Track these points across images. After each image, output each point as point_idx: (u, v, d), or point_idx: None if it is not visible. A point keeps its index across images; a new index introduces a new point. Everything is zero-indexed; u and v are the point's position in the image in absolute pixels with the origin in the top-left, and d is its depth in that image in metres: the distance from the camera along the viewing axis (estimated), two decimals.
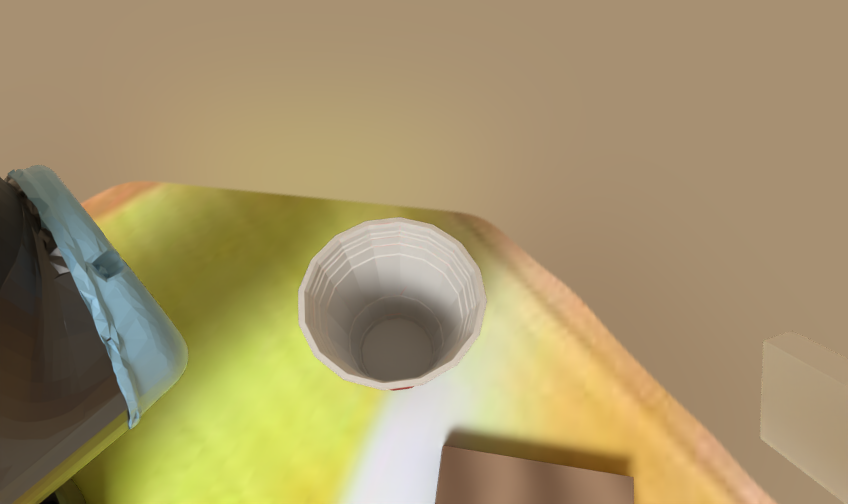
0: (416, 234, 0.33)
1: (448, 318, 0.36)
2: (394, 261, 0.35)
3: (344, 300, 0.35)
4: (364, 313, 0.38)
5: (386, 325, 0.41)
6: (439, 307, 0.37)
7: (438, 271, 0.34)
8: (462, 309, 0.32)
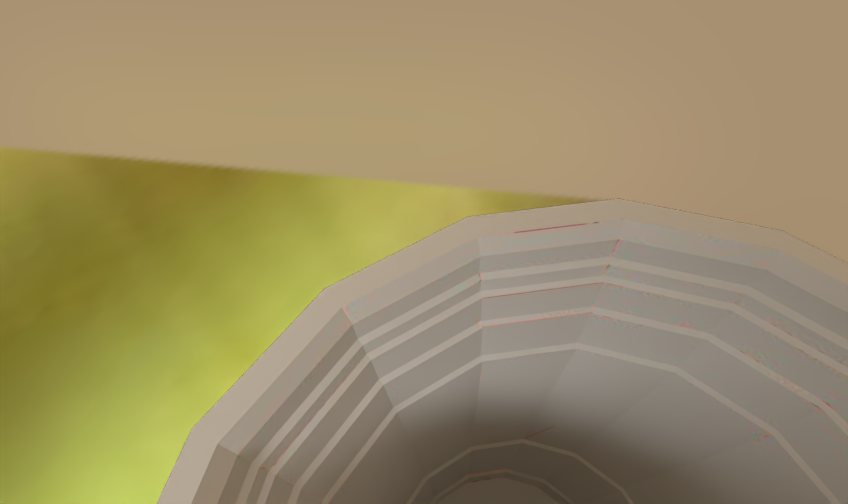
0: (690, 275, 0.07)
1: None
2: (546, 368, 0.09)
3: None
4: (418, 498, 0.13)
5: (469, 499, 0.15)
6: (674, 503, 0.11)
7: (739, 417, 0.09)
8: None
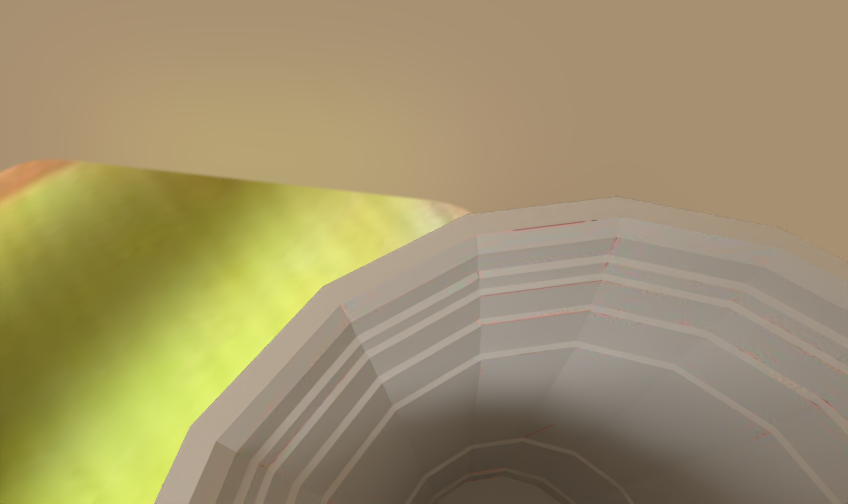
0: (688, 273, 0.07)
1: None
2: (546, 366, 0.09)
3: None
4: (418, 496, 0.13)
5: (469, 498, 0.15)
6: (673, 502, 0.11)
7: (738, 415, 0.09)
8: None
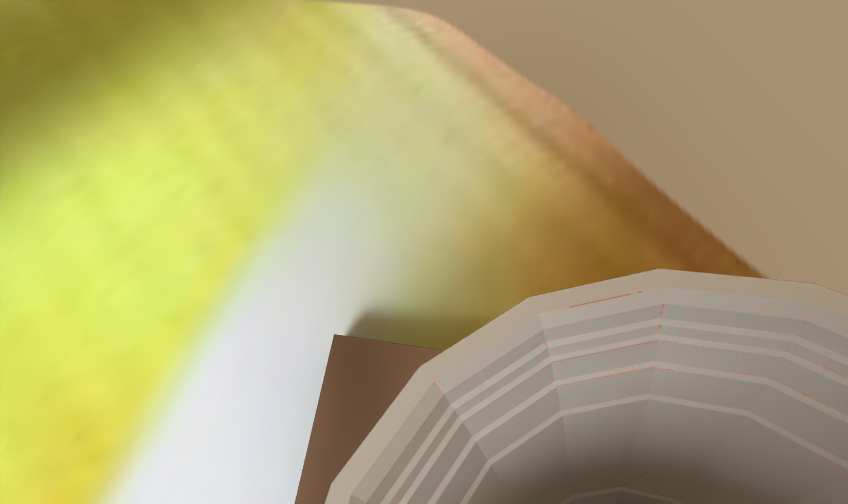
0: (736, 329, 0.08)
1: None
2: (625, 418, 0.10)
3: None
4: None
5: None
6: None
7: (819, 457, 0.09)
8: None
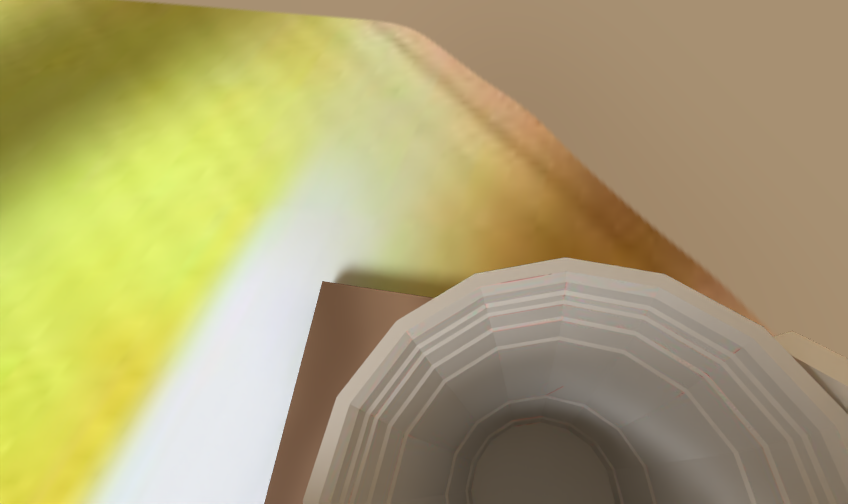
0: (613, 300, 0.12)
1: (681, 476, 0.15)
2: (543, 351, 0.15)
3: (431, 442, 0.15)
4: (473, 435, 0.19)
5: (515, 437, 0.21)
6: (648, 438, 0.16)
7: (665, 381, 0.13)
8: None
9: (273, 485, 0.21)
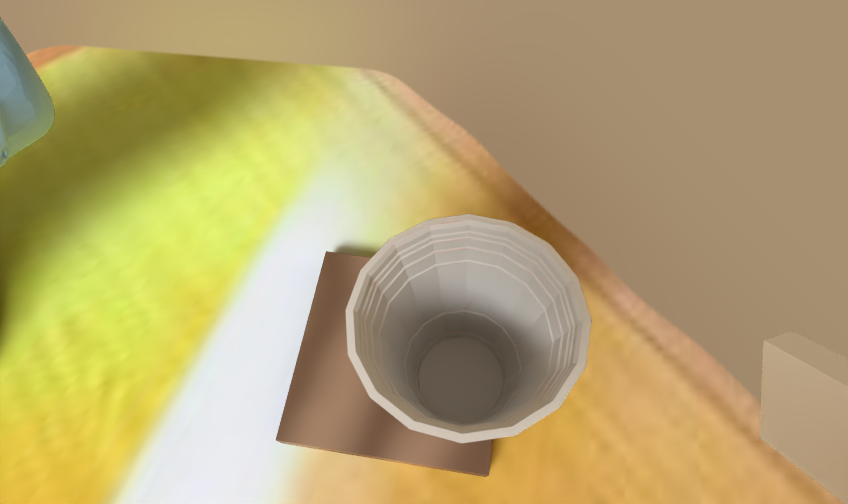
0: (490, 235, 0.26)
1: (528, 339, 0.28)
2: (460, 269, 0.28)
3: (399, 319, 0.28)
4: (421, 333, 0.32)
5: (446, 345, 0.34)
6: (515, 325, 0.30)
7: (517, 281, 0.27)
8: (552, 329, 0.25)
9: (296, 373, 0.34)
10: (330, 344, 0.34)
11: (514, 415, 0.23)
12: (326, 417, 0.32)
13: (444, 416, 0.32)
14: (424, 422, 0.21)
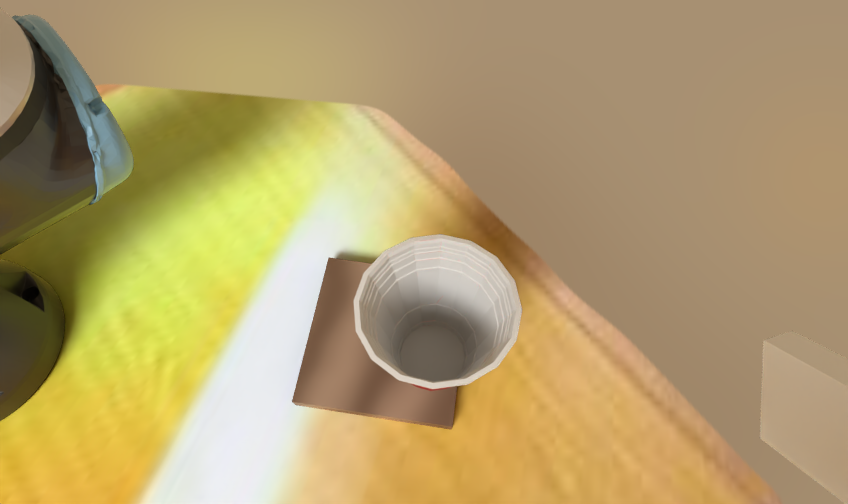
0: (455, 249, 0.36)
1: (482, 325, 0.39)
2: (434, 273, 0.39)
3: (388, 309, 0.39)
4: (404, 320, 0.42)
5: (422, 331, 0.45)
6: (473, 315, 0.40)
7: (474, 282, 0.38)
8: (497, 317, 0.36)
9: (306, 352, 0.44)
10: (332, 330, 0.45)
11: (468, 374, 0.33)
12: (330, 385, 0.43)
13: None
14: (408, 375, 0.31)
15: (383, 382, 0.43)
